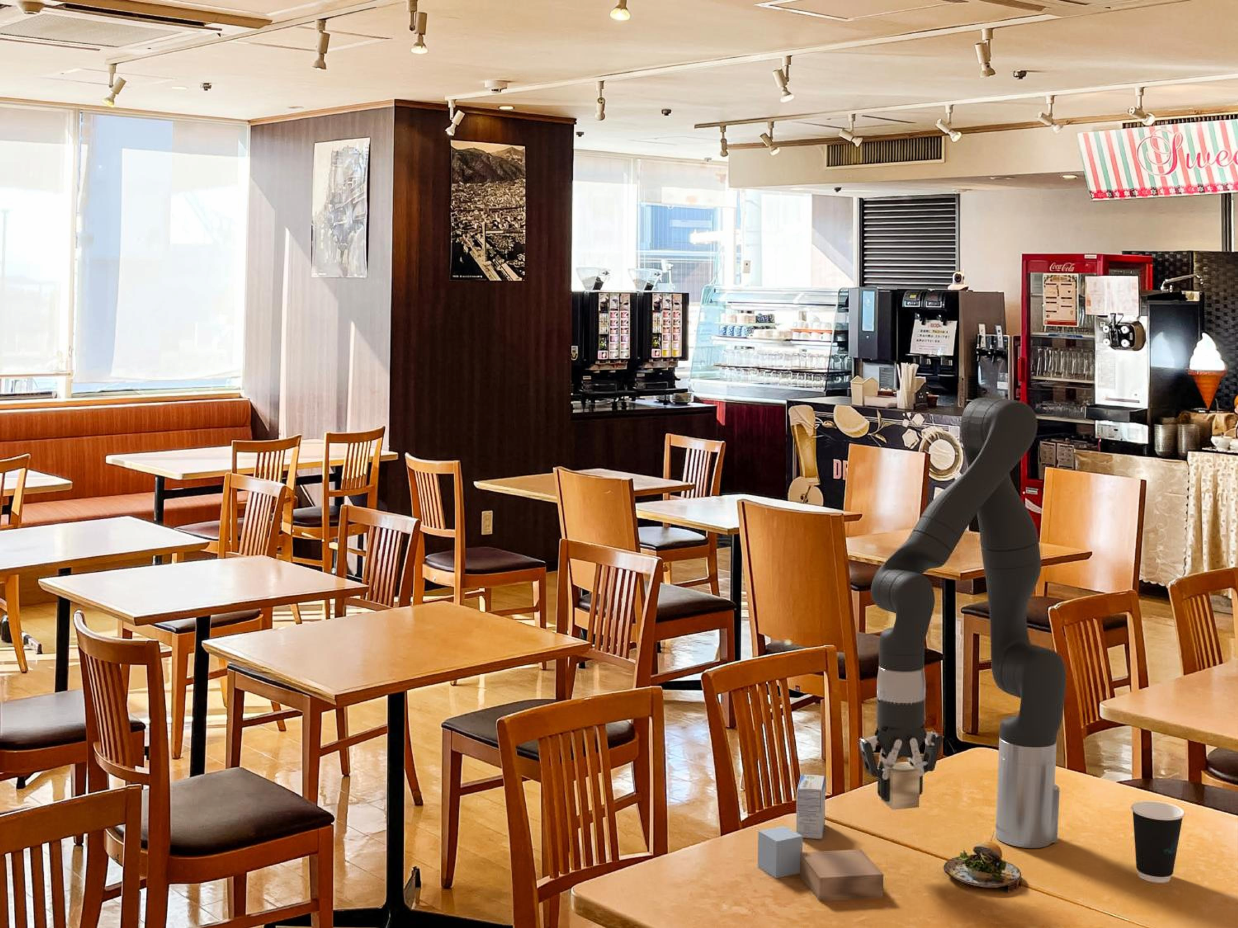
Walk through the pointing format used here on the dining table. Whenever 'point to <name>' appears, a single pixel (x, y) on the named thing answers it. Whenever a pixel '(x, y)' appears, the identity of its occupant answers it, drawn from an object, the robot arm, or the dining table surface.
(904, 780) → the oak block
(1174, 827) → the dixie cup
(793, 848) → the slate block
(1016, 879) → the burger
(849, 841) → the dining table surface
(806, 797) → the medicine box
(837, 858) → the walnut block
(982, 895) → the dining table surface
